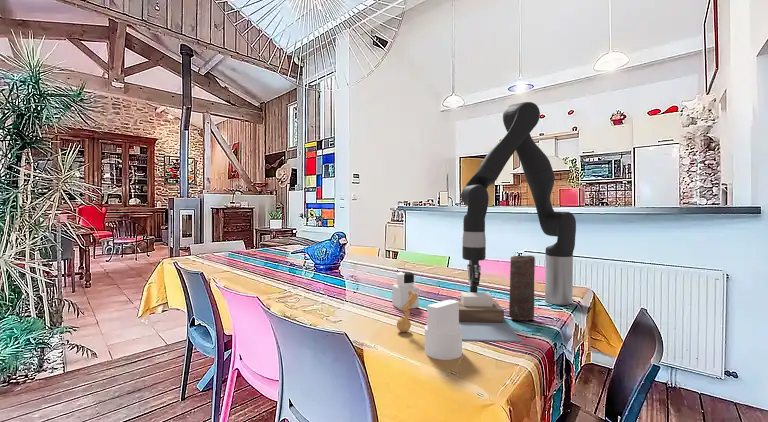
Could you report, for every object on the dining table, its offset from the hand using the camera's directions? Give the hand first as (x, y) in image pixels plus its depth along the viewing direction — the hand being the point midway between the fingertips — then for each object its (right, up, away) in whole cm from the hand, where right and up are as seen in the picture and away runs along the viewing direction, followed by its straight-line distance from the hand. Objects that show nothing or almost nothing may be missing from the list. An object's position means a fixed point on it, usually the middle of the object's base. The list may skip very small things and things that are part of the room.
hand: (473, 296), depth 131 cm
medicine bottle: (-22, -5, +7) cm, 24 cm away
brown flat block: (0, -5, -6) cm, 8 cm away
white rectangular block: (0, 0, -5) cm, 5 cm away
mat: (-1, -6, -20) cm, 21 cm away
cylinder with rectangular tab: (-15, -6, -35) cm, 39 cm away
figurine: (-23, -6, -21) cm, 32 cm away
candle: (+13, -6, -9) cm, 17 cm away
